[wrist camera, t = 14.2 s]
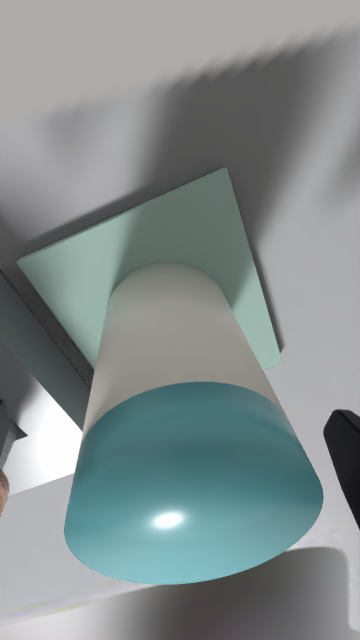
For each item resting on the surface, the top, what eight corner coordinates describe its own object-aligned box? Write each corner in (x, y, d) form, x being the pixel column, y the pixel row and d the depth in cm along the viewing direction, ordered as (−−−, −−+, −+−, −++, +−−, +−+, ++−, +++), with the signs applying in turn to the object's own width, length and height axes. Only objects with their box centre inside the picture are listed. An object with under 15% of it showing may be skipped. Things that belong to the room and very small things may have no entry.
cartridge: (241, 270, 12) (369, 446, 5) (212, 370, 15) (274, 578, 8) (110, 253, 11) (63, 437, 4) (102, 362, 14) (64, 589, 7)
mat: (278, 356, 15) (282, 363, 15) (130, 411, 16) (129, 419, 16) (223, 167, 11) (227, 168, 10) (20, 257, 12) (16, 262, 11)
